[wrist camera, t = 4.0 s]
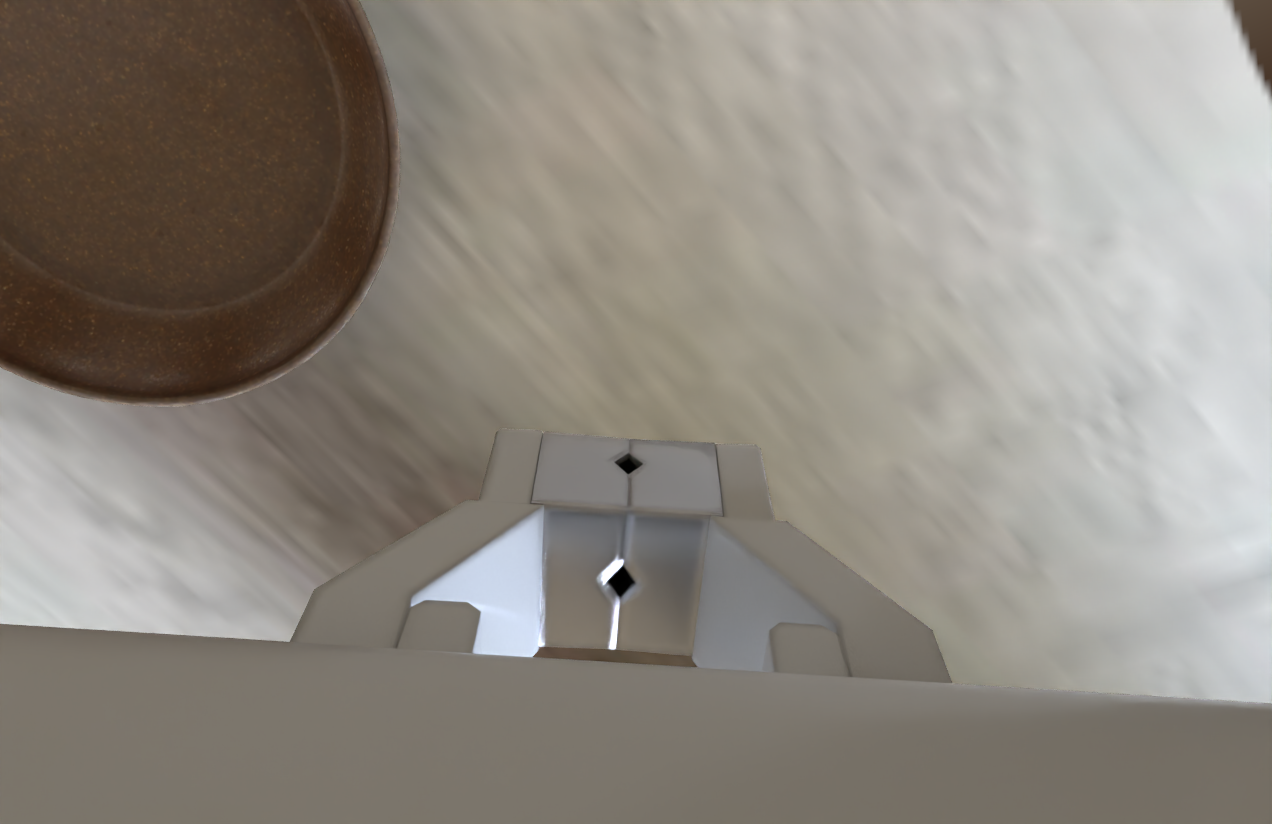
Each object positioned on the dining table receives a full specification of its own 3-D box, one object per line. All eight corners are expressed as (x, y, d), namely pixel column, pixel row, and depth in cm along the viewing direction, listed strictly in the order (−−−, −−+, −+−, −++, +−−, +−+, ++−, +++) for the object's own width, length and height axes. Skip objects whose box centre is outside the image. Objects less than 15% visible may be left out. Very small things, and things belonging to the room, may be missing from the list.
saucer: (-288, 35, 26) (-384, 52, 23) (107, -390, 22) (41, -421, 19) (154, 451, 31) (113, 499, 29) (535, 176, 27) (524, 205, 25)
